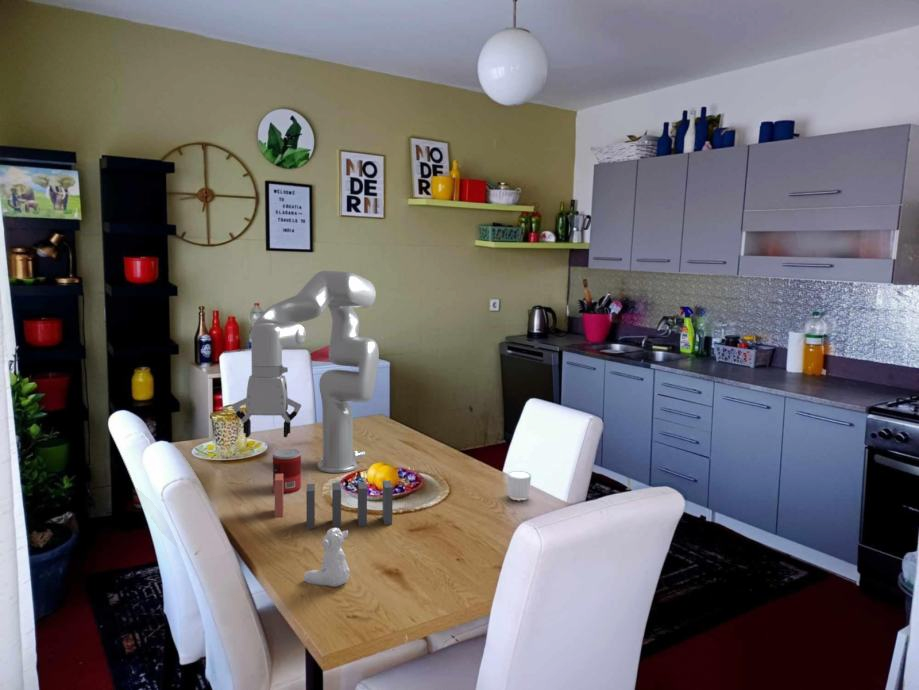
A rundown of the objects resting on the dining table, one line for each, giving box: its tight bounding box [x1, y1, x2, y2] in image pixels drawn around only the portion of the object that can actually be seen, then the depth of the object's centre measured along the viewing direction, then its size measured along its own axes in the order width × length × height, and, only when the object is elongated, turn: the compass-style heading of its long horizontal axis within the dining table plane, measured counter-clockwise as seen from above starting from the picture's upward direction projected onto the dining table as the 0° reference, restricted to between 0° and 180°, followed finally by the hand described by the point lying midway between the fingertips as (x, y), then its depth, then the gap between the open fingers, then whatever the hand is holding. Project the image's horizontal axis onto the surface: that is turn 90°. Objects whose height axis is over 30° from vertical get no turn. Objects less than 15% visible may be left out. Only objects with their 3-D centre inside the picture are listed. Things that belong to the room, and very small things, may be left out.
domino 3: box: [357, 481, 368, 527], centre depth 173 cm, size 2×5×10 cm, turn 12°
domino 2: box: [331, 482, 342, 529], centre depth 171 cm, size 2×5×10 cm, turn 12°
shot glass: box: [507, 470, 532, 498], centre depth 193 cm, size 7×7×7 cm
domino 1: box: [305, 483, 316, 530], centre depth 170 cm, size 2×5×10 cm, turn 12°
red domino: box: [274, 474, 285, 518], centre depth 177 cm, size 2×5×10 cm, turn 12°
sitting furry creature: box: [303, 527, 351, 588], centre depth 142 cm, size 10×9×12 cm
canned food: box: [272, 448, 302, 495], centre depth 194 cm, size 8×8×11 cm
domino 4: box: [382, 480, 394, 526], centre depth 174 cm, size 2×5×10 cm, turn 12°
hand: (267, 435), depth 175 cm, fingers open, 9 cm apart
